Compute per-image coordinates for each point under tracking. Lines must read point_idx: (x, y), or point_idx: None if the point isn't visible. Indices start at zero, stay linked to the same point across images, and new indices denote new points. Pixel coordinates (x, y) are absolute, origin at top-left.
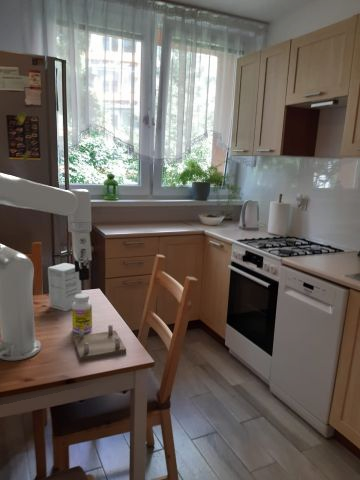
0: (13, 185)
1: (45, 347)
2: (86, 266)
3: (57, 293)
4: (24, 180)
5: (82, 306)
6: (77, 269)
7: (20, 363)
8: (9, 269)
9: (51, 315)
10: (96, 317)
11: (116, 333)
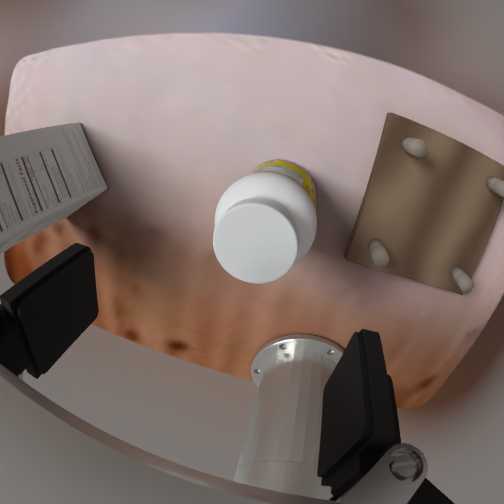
0: None
1: (326, 327)
2: (432, 492)
3: (49, 221)
4: None
5: (307, 245)
6: (84, 313)
7: None
8: None
9: (120, 235)
10: (200, 104)
11: (416, 125)
